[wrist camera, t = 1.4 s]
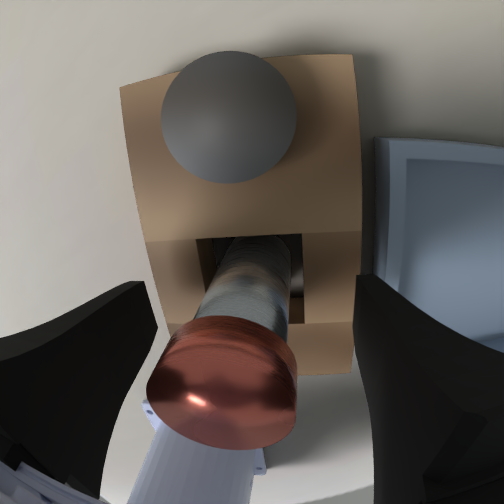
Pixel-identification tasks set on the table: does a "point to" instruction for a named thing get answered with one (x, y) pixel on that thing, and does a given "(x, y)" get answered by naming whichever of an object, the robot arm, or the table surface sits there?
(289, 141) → the wooden block with hole
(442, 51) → the table surface
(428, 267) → the tray
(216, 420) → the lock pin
